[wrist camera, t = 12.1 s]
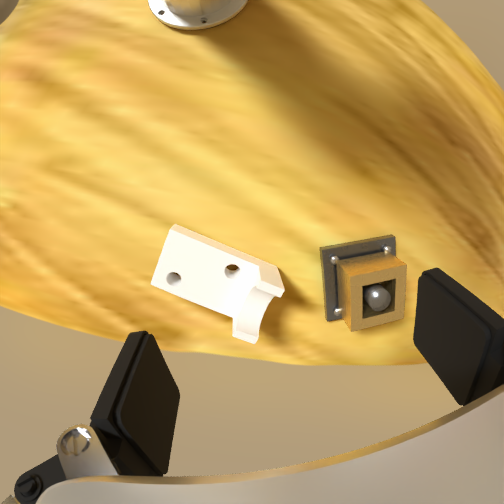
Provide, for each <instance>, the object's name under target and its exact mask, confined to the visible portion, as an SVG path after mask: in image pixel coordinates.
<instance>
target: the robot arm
mask: <svg viewBox="0 0 504 504" xmlns="http://www.w3.org/2000/svg"><path fill="white" fill-rule="evenodd" d="M247 2H248V0H148V3H149V7H150V9H151V11H152V13H153V14H154V15H155V17H156V18H157V19H158V20H160V21H161V22H162V23H164V24H166V25H168V26H170V27H173V28H177V29H184V30H199V29H206V28H210V27H213V26H217V25H219V24H222V23H224V22H226V21H228V20H230V19H231V18H233V17H234V16H236V15H237V14H238V13H239V12H240V11H241V10H242V9H243V8H244V6H245V5H246V4H247ZM162 14H163V15H162ZM203 22H206V23H203ZM413 340H414V344H415V346H416V347H417V349H418V350H419V351H420V353H421V354H422V355H423V357H424V358H425V359H426V360H427V362H428V363H429V364H430V366H431V367H432V368H433V370H434V371H435V372H436V374H437V375H438V376H439V378H440V379H441V381H442V382H443V383H444V385H445V386H446V388H447V389H448V390H449V392H450V393H451V394H452V396H453V397H454V399H455V400H456V402H457V403H458V404H459V405H463V407H461V408H460V409H458V410H456V411H454V412H452V413H450V414H448V415H446V416H443V417H441V418H439V419H437V420H435V421H433V422H430V423H428V424H426V425H424V426H421V427H419V428H416V429H414V430H412V431H409V432H407V433H404V434H402V435H399V436H396V437H393V438H391V439H388V440H386V441H383V442H380V443H377V444H374V445H371V446H368V447H364V448H361V449H358V450H355V451H351V452H348V453H344V454H341V455H337V456H333V457H329V458H325V459H321V460H316V461H312V462H307V463H303V464H297V465H293V466H287V467H281V468H276V469H269V470H263V471H255V472H246V473H237V474H227V475H210V476H187V477H186V476H184V477H163V474H166V473H167V472H168V466H169V460H170V452H171V447H172V440H173V435H174V429H175V423H176V417H177V411H178V406H179V399H180V393H179V389H178V387H177V385H176V383H175V381H174V379H173V377H172V375H171V373H170V371H169V369H168V366H167V364H166V362H165V360H164V358H163V356H162V353H161V351H160V349H159V347H158V345H157V342H156V340H155V338H154V336H153V335H152V334H148V332H147V331H139V332H132V333H130V334H129V335H128V337H127V339H126V341H125V343H124V346H123V348H122V350H121V352H120V354H119V356H118V358H117V360H116V362H115V364H114V366H113V368H112V370H111V373H110V375H109V377H108V379H107V381H106V383H105V386H104V388H103V390H102V392H101V394H100V397H99V399H98V401H97V404H96V406H95V408H94V410H93V413H92V415H91V417H90V418H91V420H92V421H91V423H90V426H88V425H85V424H79V425H78V424H77V425H74V426H71V427H69V428H68V429H66V430H65V431H64V432H63V433H62V434H61V435H60V437H59V438H58V441H57V445H56V447H57V453H58V454H57V455H55V456H54V457H52V458H50V459H49V460H47V461H45V462H43V463H42V464H40V465H38V466H36V467H34V468H33V469H31V470H29V471H27V472H25V473H24V474H22V475H21V476H20V477H19V479H18V480H17V482H16V484H15V488H14V492H15V497H13V496H12V495H10V496H9V497H8V498H7V499H6V500H5V501H3V502H2V504H504V319H503V318H502V317H501V316H500V315H498V314H497V313H496V312H495V311H494V310H492V309H491V308H490V307H489V306H487V305H486V304H485V303H484V302H482V301H481V300H480V299H479V298H477V297H476V296H475V295H474V294H472V293H471V292H470V291H468V290H467V289H466V288H465V287H463V286H462V285H461V284H459V283H458V282H457V281H455V280H454V279H453V278H451V277H450V276H449V275H447V274H446V273H445V272H443V271H442V270H440V269H439V268H433V269H430V270H427V271H424V272H423V273H422V275H421V276H420V277H419V279H418V293H417V306H416V317H415V327H414V336H413Z"/></svg>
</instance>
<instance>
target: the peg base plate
mask: <svg viewBox="0 0 504 504" xmlns="http://www.w3.org/2000/svg"><path fill="white" fill-rule="evenodd" d="M385 251H388V252H390V253H391V254H392V255H394V256H395V257H396V251H395V236H393V235H387V236H382V237H376V238H371V239H365V240H360V241H354V242H348V243H343V244H337V245H331V246H326V247H320V256H321V267H322V278H323V291H324V304H325V318H326V320H327V321H332V320H336V319H341V318H342V316H341V314H340V313H339V304H338V283H337V267H336V261H338V260H343V259H348V258H354V257H359V256H364V255H370V254H375V253H380V252H385ZM362 297H363V298H364V299H365V301H366V302H367V303H368V304H369V306H370V307H371V308H372V309H373V310H374V311H382V310H384V309H385V308H387V306H388V305H389V303H390V301H391V296H390V293H389V292H388V291H387V290H386V289H385V288H384V287H383V286H382V285H381V284H380V283H379V282H378V283H374V284H369V285H365V286H362Z"/></svg>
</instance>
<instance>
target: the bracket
mask: <svg viewBox="0 0 504 504" xmlns="http://www.w3.org/2000/svg"><path fill="white" fill-rule="evenodd" d="M230 264H235V265H237V266H238V267H239V268H238V269H237V270H234V271H231V270H229V269H227V267H226V266H228V265H230ZM174 272H176V273H178V274H179V275H180V276H178V275H176V274H174ZM151 285H153V286H156V287H158V288H160V289H163V290H165V291H167V292H170V293H172V294H174V295H177V296H179V297H182V298H184V299H187V300H189V301H192V302H194V303H197V304H199V305H202V306H204V307H207V308H209V309H212V310H214V311H217V312H220V313H222V314H225V315H227V316H230V317H233V337H236V338H238V339H241V340H244V341H247V342H250V343H253V344H255V343H256V341H257V340H258V338H259V328H260V323H261V320H262V317H263V315H264V312H265V310H266V308H267V306H268V304H269V303H270V301H271V300H272V299H273V298H274V297H275V296H277V297H280V298H281V296H282V294H283V292H284V290H285V289H284V286H283V283H282V280H281V277H280V274H279V271H278V268H277V266H275V265H272V264H270V263H267V262H265V261H263V260H260V259H258V258H256V257H253V256H251V255H248V254H246V253H244V252H241V251H239V250H236V249H234V248H232V247H229V246H227V245H225V244H222V243H220V242H217V241H215V240H213V239H210V238H208V237H205V236H203V235H201V234H198V233H196V232H194V231H191V230H189V229H186V228H184V227H182V226H179V225H177V224H174V225H173V226H172V227H171V228H170V230H169V233H168V236H167V239H166V241H165V244H164V247H163V250H162V252H161V255H160V258H159V261H158V264H157V267H156V270H155V272H154V275H153V278H152V281H151Z"/></svg>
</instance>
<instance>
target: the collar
mask: <svg viewBox="0 0 504 504" xmlns="http://www.w3.org/2000/svg"><path fill="white" fill-rule="evenodd" d="M336 267H337V283H338V304H339V313H340V314H341V316H342V318H343V319H344V321H345V323H346V324H347V326H348V328H349V329H350V331H351V332H352V331H356V330H361V329H365V328H369V327H373V326H377V325H380V324H384V323H388V322H392V321H395V320H399V319H403V318H404V307H405V292H406V269H407V265H406V264H405V263H404V262H402V261H401V260H400V259H398V258H397V257H395V256H394V255H392V254H391V253H390V252H388V251H385V252H380V253H375V254H370V255H364V256H359V257H354V258H348V259H343V260H338V261H336ZM378 282H379V283H380V284H381V285H382V286H383V287H384V288H385V289H386V290H387V291H388V292H389V293H390V296H391V301H390V303H389V305H388V306H387V308H385V309H384V310H382V311H374V310H373V309H372V308H371V307H370V306H369V304H368V303H367V302H366V301H365V299H364V298H363V297H362V286H365V285H369V284H374V283H378Z"/></svg>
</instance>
